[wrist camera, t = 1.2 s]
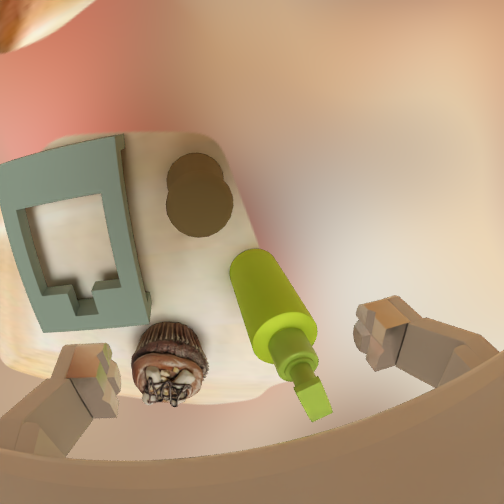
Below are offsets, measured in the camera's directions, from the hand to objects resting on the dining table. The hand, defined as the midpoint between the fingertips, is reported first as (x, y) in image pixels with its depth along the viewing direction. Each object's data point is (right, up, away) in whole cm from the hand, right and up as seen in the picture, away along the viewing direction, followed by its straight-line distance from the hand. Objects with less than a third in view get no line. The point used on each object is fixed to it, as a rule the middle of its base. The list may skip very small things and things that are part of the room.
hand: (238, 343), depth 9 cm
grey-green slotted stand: (-19, +5, +22) cm, 29 cm away
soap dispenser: (+1, 0, +29) cm, 29 cm away
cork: (-6, +10, +23) cm, 26 cm away
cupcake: (-11, -9, +31) cm, 34 cm away
